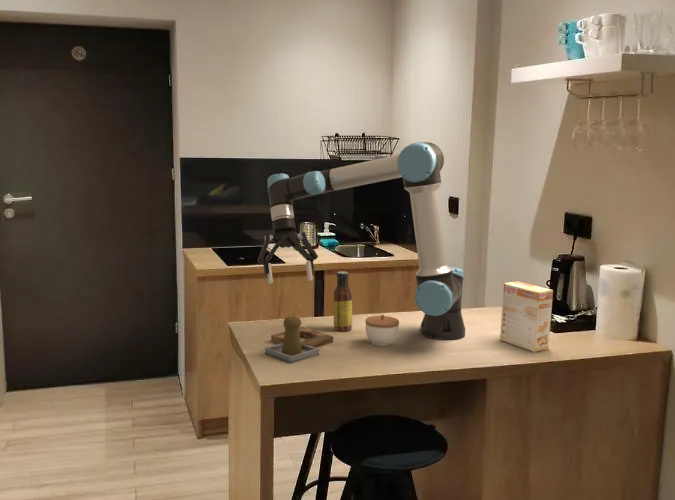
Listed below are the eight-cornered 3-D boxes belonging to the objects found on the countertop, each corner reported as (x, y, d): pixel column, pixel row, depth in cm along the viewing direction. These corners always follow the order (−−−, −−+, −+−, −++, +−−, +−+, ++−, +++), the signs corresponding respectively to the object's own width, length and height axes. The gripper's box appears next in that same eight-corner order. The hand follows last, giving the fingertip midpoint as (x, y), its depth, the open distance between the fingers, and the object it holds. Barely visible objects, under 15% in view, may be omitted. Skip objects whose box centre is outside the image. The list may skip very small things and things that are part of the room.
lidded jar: (357, 342, 227) (358, 314, 225) (379, 336, 235) (380, 308, 233) (383, 350, 220) (384, 321, 218) (404, 343, 228) (406, 315, 226)
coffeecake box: (549, 349, 226) (554, 289, 223) (533, 352, 222) (538, 292, 219) (514, 337, 239) (518, 280, 235) (499, 339, 235) (503, 282, 231)
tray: (319, 354, 214) (319, 349, 214) (291, 363, 206) (291, 357, 205) (292, 345, 222) (292, 340, 222) (264, 353, 214) (264, 348, 213)
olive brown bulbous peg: (298, 356, 210) (299, 320, 208) (279, 354, 211) (279, 318, 210) (303, 350, 216) (304, 315, 214) (284, 348, 217) (285, 313, 215)
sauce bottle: (355, 328, 242) (357, 272, 239) (345, 333, 237) (347, 275, 234) (339, 325, 246) (340, 269, 242) (329, 329, 241) (330, 272, 237)
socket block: (333, 342, 227) (333, 336, 227) (301, 351, 217) (301, 345, 216) (302, 332, 236) (302, 327, 236) (271, 341, 226) (271, 335, 226)
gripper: (314, 221, 244) (323, 282, 239) (244, 224, 235) (251, 287, 230) (321, 215, 237) (330, 277, 232) (249, 217, 228) (256, 282, 223)
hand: (290, 282), depth 231 cm, fingers open, 13 cm apart
